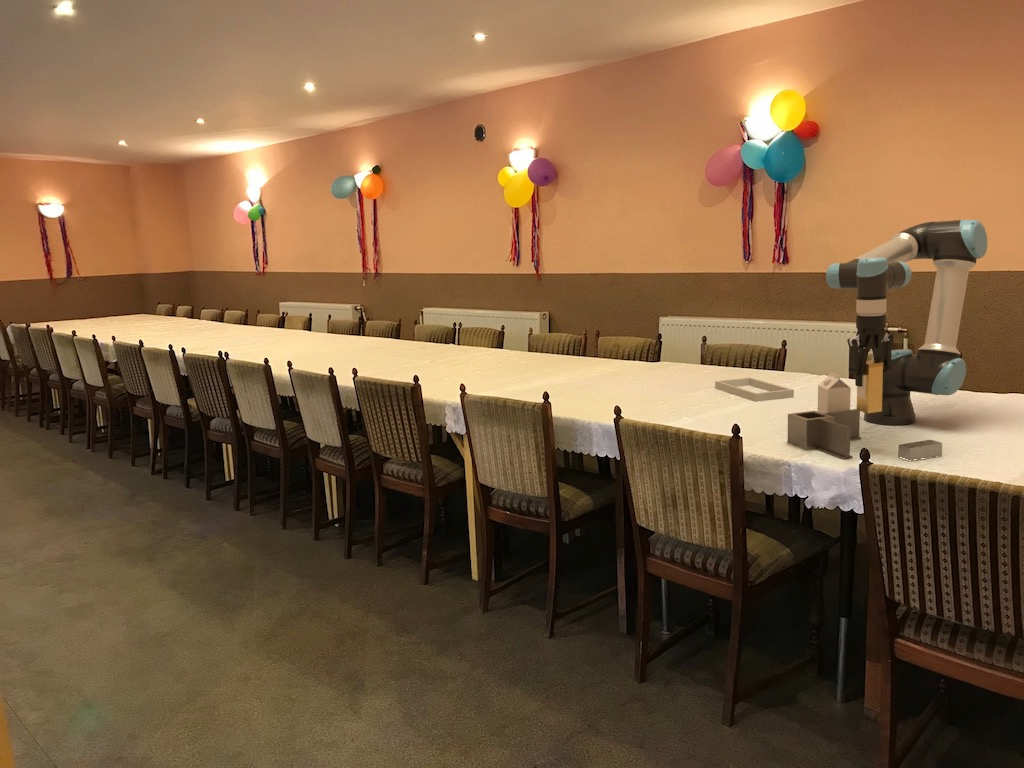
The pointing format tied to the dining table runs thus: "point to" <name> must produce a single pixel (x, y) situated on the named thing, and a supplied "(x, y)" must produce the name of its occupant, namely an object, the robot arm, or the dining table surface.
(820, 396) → the milk carton
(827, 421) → the brown box with panels
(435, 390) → the dining table surface
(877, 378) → the tall golden block
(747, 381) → the parts tray frame
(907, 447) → the bar
